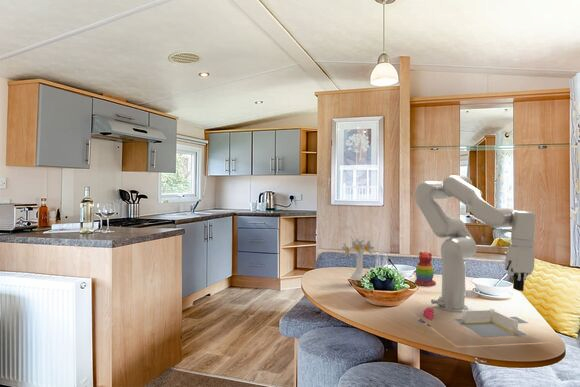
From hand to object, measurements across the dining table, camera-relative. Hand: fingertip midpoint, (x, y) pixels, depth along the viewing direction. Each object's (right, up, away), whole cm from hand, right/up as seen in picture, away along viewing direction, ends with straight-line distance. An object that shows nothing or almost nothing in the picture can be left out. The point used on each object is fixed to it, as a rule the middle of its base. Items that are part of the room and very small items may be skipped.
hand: (518, 289), depth 147 cm
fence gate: (-6, -14, -1) cm, 15 cm away
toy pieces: (-32, -15, +6) cm, 35 cm away
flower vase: (-51, -13, +58) cm, 78 cm away
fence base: (-6, -15, +1) cm, 16 cm away
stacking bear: (-14, -13, +64) cm, 66 cm away
